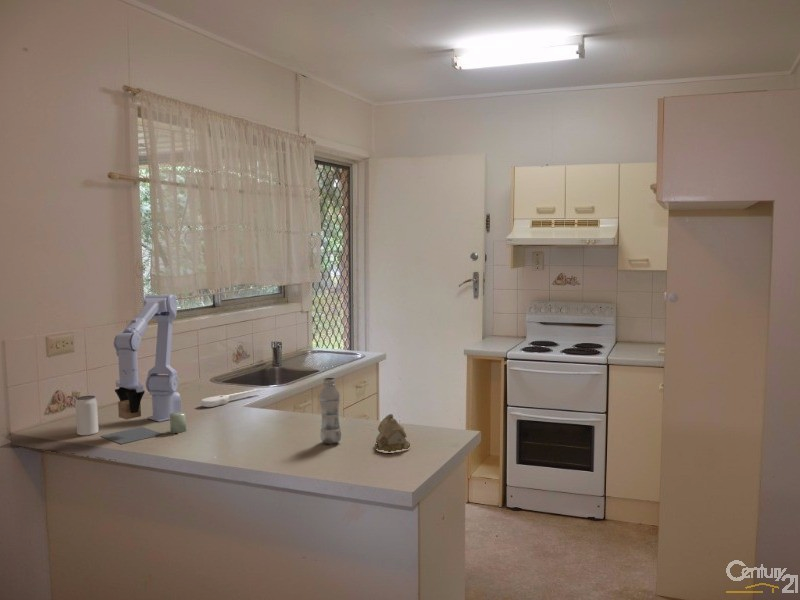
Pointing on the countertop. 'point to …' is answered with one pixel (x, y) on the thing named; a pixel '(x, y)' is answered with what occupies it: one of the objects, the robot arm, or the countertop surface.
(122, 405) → the walnut block
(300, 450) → the countertop surface
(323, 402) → the plastic bottle
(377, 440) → the ceramic model
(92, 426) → the can
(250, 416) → the countertop surface
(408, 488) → the countertop surface
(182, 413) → the sage cylinder
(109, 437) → the slate mat
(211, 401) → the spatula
